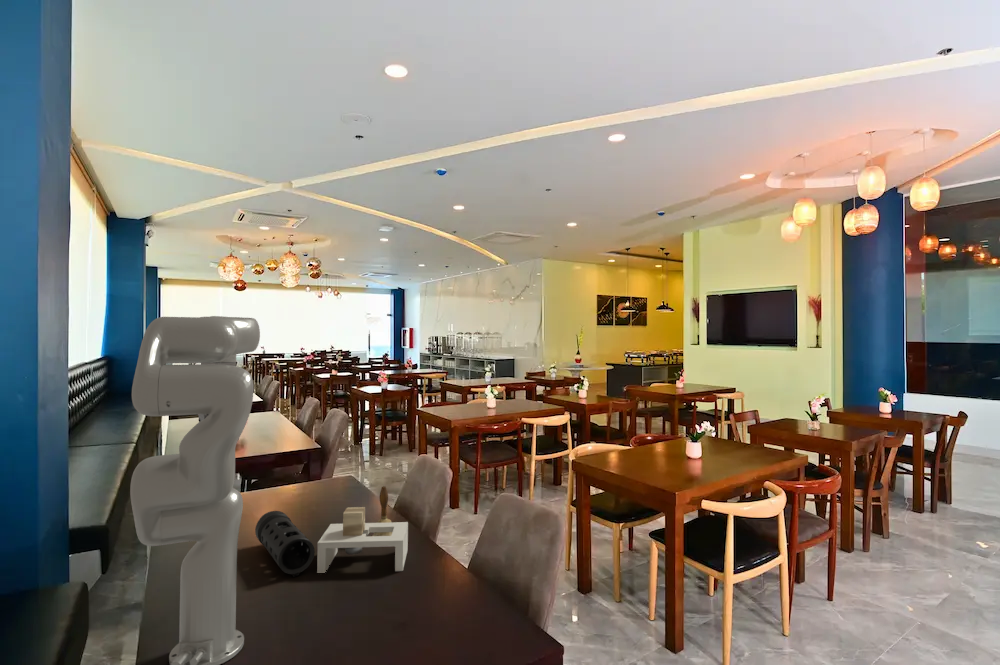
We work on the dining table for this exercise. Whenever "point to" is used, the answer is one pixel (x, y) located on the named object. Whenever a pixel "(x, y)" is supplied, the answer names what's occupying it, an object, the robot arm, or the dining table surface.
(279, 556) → the muzzle brake
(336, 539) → the keyhole stand
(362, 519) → the peg
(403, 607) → the dining table surface
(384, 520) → the hand bell
